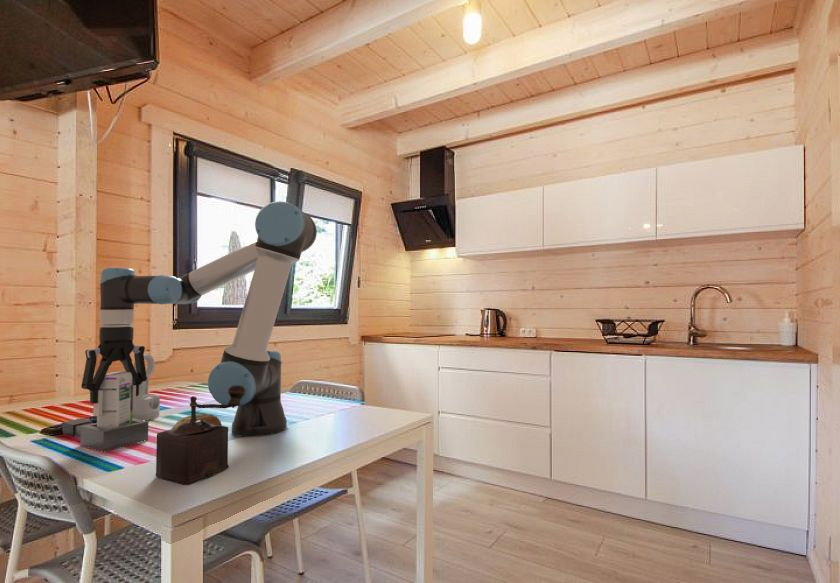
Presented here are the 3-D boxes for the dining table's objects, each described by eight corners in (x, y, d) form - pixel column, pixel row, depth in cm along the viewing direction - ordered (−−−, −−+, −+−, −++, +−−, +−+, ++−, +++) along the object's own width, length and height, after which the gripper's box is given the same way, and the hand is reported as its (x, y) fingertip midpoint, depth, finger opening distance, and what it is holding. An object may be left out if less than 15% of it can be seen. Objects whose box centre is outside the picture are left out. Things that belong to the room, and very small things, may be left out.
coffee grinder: (189, 486, 90) (190, 396, 90) (154, 477, 94) (155, 392, 95) (249, 462, 104) (250, 384, 104) (216, 455, 108) (217, 380, 109)
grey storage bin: (148, 440, 120) (148, 421, 120) (103, 452, 111) (103, 431, 111) (93, 426, 134) (93, 410, 134) (49, 436, 124) (49, 418, 124)
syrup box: (118, 431, 115) (119, 374, 116) (95, 430, 115) (96, 374, 116) (132, 425, 121) (133, 371, 121) (111, 425, 121) (112, 371, 122)
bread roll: (233, 439, 121) (233, 410, 121) (184, 457, 107) (184, 423, 108) (207, 435, 125) (207, 407, 125) (157, 451, 111) (157, 419, 111)
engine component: (115, 421, 139) (147, 421, 139) (116, 356, 140) (148, 356, 140) (138, 413, 150) (167, 413, 150) (139, 352, 151) (168, 352, 151)
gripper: (147, 324, 130) (146, 403, 129) (64, 327, 112) (62, 419, 111) (163, 324, 126) (161, 406, 125) (80, 328, 108) (77, 422, 107)
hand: (115, 412), depth 118 cm, fingers closed on syrup box, 8 cm apart
